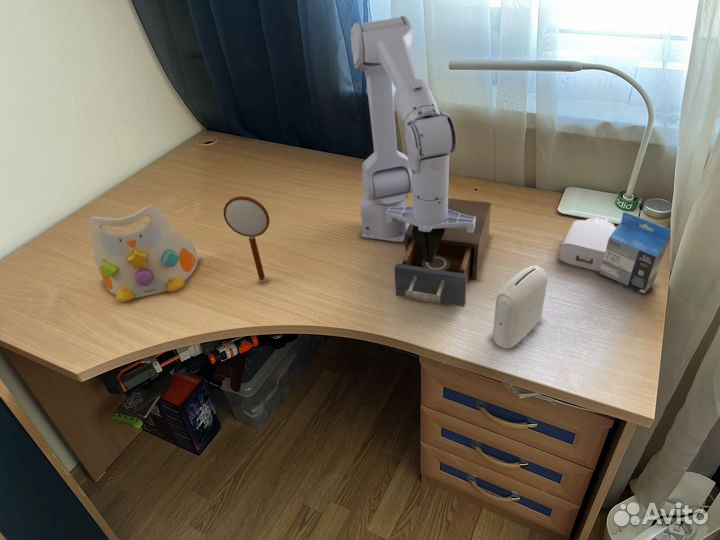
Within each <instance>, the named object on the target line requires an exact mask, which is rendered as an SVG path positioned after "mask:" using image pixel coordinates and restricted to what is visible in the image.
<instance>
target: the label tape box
mask: <svg viewBox="0 0 720 540" xmlns="http://www.w3.org/2000/svg"><path fill="white" fill-rule="evenodd" d="M638 224H640V225H642V226H644V225H646V226H647V228H650V229H652V230H650V229H647V228H644V227H642V226H640V225H638ZM615 228H616V229H615V230H614V232H613V233H612V234H611V236H610V237H609V239H608V243H607V247H606V250H605V254H604V257H603V261H602V265H601V268H600V272H599V271H598V273H599V274H600V275H602V276H604V277H606V278H608V279H611V280H614V281H615V282H618V283H620V284H621V285H622V284H623V285H624V286H627V287H629V288H631V289H633V290H636V291H638V292H639V293H643V294H645V293H646V292H647V291H648V290H650V288H651V287H653V285H654V284H655V280H656V278H657V276H658V272H659V269H660V267H661V263H662V261H663V258H664V255H665V252H666V249H667V247H668V245H669V240H670V236H671V232H672V230H671V229H670V228H668V227H666V226H664V225H660V224H658V223H655V222H653V221H649V220H647V219H645V218H642V217H639V216H636V215H634V214H631V213H628V212H626V211H623V212H622V215H621V221H620V222H619V224H618V225H617V226H616V227H615Z"/></svg>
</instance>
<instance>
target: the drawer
mask: <svg viewBox="0 0 720 540" xmlns="http://www.w3.org/2000/svg"><path fill="white" fill-rule="evenodd" d="M436 255H441V256H444V257H446V258H448V259H449V261H450V272H449V271H443V270H436V269H430V268H423V267H422V262H423V260H424V256H423V253H422V250H421V248H420V246H419V244H418V243H417V241H416V240H415V239H412V240H411V242H410V244H409V246H408V249H407V251H406V253H405V252H404V255H403V257H402V260H401V263H395V265H394V267H393V268H394V269H393V270H394V286H395V287H394V288H395V296H397V297H404V298H405V299H410V300H416V301H422V302H426V303H433V304H444V305H451V306H455V307H461V308H464V307H465V306H466V303H467V302H466V301H467V287H468V281H469V280H470V279H469V275H470V272H471V269H472V265H473V258H474V247H469V246H461V245H454V244H446V243H439V244H438V246H437V249H436Z"/></svg>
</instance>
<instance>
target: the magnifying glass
mask: <svg viewBox="0 0 720 540" xmlns="http://www.w3.org/2000/svg"><path fill="white" fill-rule="evenodd" d="M223 218H224V221H225V223H226V224H227V225H228V227H229V228H230V229H231V230H232V231H233V232H235V233H236V234H238V235H241V236H243V237H246V238H247V237H248V241H249V245H250V249H251V253H252V258H253V260H254V265H255V269H256V272H257V276H258V279H259V281H260V282H261V283H264V282H265V281H266V280H265V279H266V276H265V272H264V268H263V264H262V260H261V256H260V252H259V248H258V244H257V239H256V237H260V236H262V235H263V234H264V233H266V231H267V230H268V228H269V226H270V216H269V212H268V211H267V209H266V207H265V206H264V205H263V204H262V203H261V202H259V201H258V200H256V198H255V199H254V198H252V197H249V196H245V195H244V196H235V197H233V198H231V199H229V200H227V202H226V203H225V205H224V207H223Z"/></svg>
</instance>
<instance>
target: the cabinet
mask: <svg viewBox="0 0 720 540" xmlns="http://www.w3.org/2000/svg"><path fill="white" fill-rule="evenodd" d="M448 209H450V210H453V211H456V212H459V213H462V214H465V215H468V216H474V217H476V222H475V229H474V232H473V233H468V232H467V230H463V229H455V228H446V230H445V233H444V235H443V237H442V239H441V241H440V242H439V243H446V244H454V245H461V246H469V247H474V258H473V265H472V269H471V272H470V275H469V279H468V280H473V281H477V279H478V275H479V272H480V268H481V265H482V261H483V258H484V254H485V250H486V246H487V243H488V240H489V235H490V234H489V233H490V223H491V222H490V221H491V209H492V202H488V201H486V202H485V201H479V200H477V201H476V200H468V199H460V198H450V197H448ZM412 229H413V225H412V224H410V225H409V227H408V229H407V231H406V233H405V240H404V254H405V253H406V251H407V249H408V246H409V244H410V242H411V240H412V239H414V237H413V236H412Z"/></svg>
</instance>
